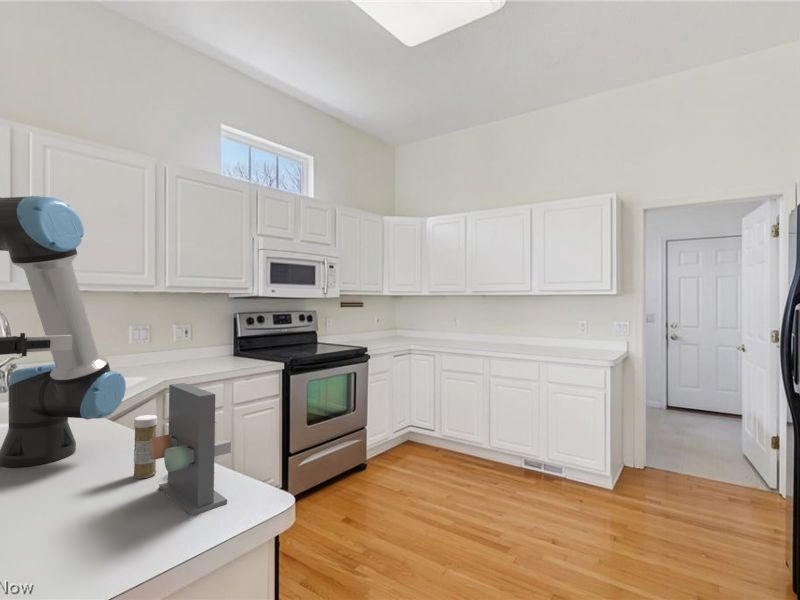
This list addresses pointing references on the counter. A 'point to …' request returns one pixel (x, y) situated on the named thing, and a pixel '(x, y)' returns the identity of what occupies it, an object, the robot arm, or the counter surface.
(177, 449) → the sage button
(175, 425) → the button panel
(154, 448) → the rust button
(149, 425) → the spice jar
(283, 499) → the counter surface
